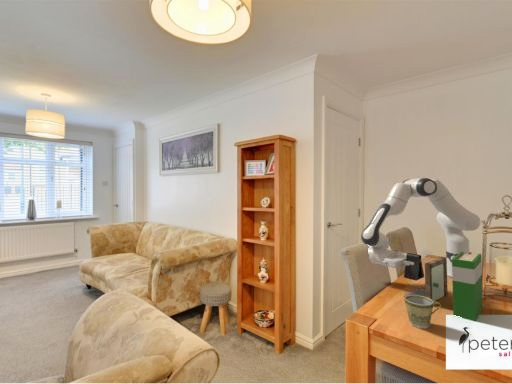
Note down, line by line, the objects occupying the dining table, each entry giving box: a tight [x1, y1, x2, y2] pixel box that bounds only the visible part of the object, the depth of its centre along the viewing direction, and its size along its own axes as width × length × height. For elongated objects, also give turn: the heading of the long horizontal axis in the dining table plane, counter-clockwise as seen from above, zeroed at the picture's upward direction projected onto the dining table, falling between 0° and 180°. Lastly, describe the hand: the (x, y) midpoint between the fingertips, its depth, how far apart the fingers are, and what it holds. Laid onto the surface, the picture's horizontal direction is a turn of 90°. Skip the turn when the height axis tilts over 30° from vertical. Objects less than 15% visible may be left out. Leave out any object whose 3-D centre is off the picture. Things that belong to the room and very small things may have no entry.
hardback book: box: [451, 252, 484, 322], centre depth 118 cm, size 18×7×24 cm, turn 133°
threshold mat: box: [403, 288, 426, 298], centre depth 136 cm, size 16×11×1 cm
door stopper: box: [403, 252, 425, 281], centre depth 140 cm, size 9×6×12 cm, turn 125°
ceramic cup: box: [404, 295, 442, 330], centre depth 108 cm, size 13×10×10 cm
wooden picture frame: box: [424, 256, 448, 300], centre depth 131 cm, size 19×2×19 cm, turn 125°
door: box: [432, 263, 445, 302], centre depth 131 cm, size 14×3×16 cm, turn 125°
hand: (415, 263), depth 139 cm, fingers closed on door stopper
